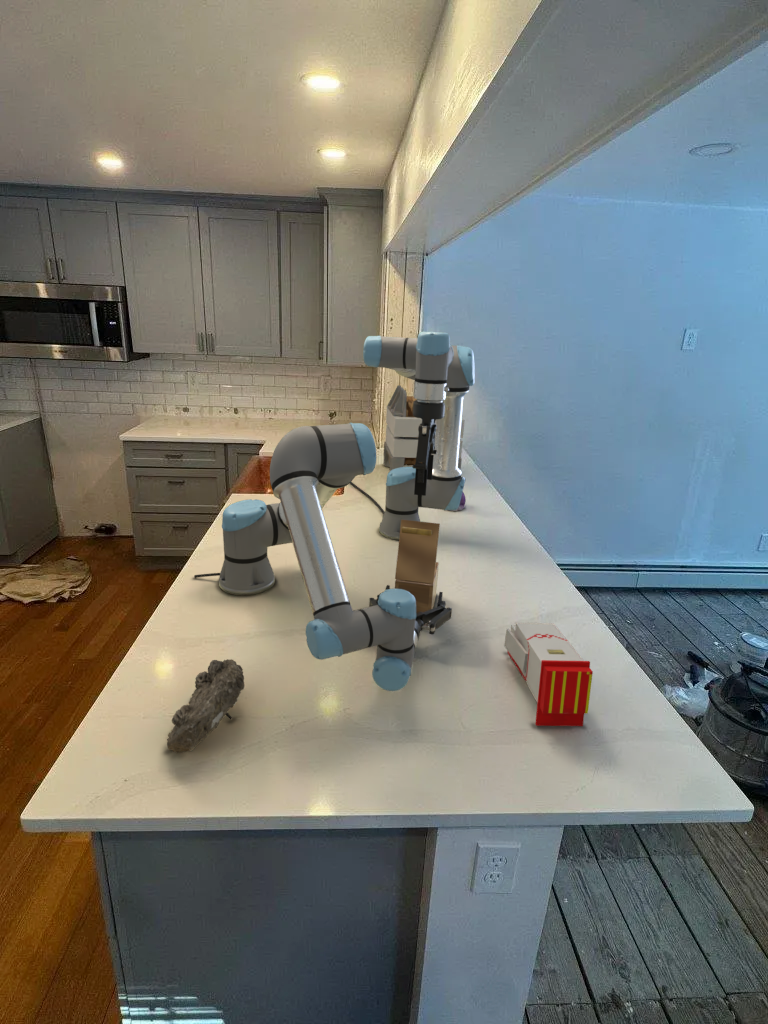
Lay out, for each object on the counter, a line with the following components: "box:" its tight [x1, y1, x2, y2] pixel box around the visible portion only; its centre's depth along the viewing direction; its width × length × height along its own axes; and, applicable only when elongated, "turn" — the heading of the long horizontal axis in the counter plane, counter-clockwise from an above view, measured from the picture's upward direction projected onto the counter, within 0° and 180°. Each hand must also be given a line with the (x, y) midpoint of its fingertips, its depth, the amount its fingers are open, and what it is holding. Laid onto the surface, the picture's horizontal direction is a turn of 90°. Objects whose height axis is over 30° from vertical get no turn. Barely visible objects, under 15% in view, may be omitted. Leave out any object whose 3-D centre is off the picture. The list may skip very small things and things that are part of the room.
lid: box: [394, 520, 441, 584], centre depth 139 cm, size 15×10×9 cm
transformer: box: [383, 384, 465, 472], centre depth 268 cm, size 34×33×41 cm
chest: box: [394, 561, 440, 613], centre depth 151 cm, size 14×10×10 cm
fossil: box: [166, 658, 245, 754], centre depth 106 cm, size 22×10×15 cm
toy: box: [503, 622, 594, 727], centre depth 121 cm, size 12×13×30 cm
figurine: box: [450, 491, 467, 512], centre depth 226 cm, size 9×10×15 cm
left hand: (414, 593), depth 145 cm, fingers open, 13 cm apart
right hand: (423, 486), depth 141 cm, fingers open, 13 cm apart
